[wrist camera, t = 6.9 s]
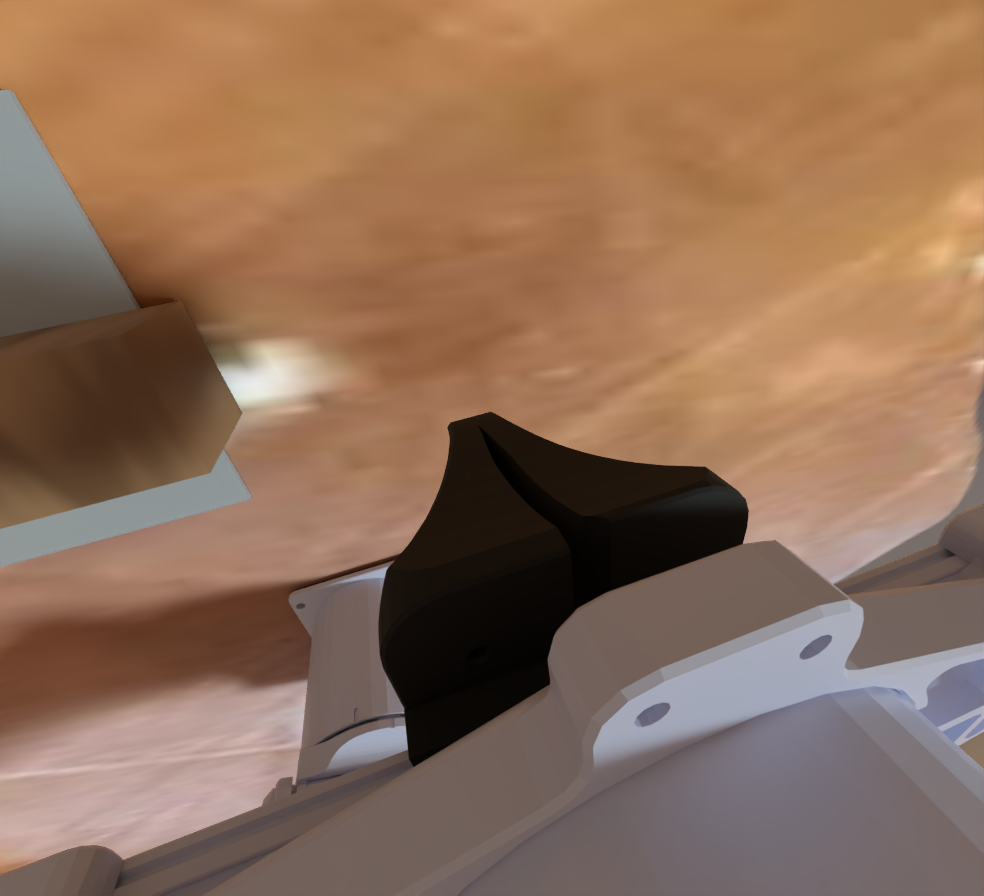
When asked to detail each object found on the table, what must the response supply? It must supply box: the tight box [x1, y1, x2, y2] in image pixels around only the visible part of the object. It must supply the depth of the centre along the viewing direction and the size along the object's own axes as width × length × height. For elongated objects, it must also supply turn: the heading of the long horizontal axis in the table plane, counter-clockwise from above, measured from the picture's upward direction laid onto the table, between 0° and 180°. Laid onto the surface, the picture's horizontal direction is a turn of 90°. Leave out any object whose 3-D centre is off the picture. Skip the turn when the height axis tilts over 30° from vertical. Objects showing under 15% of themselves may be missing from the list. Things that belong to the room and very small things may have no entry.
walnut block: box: [0, 300, 242, 529], centre depth 15 cm, size 5×5×9 cm
